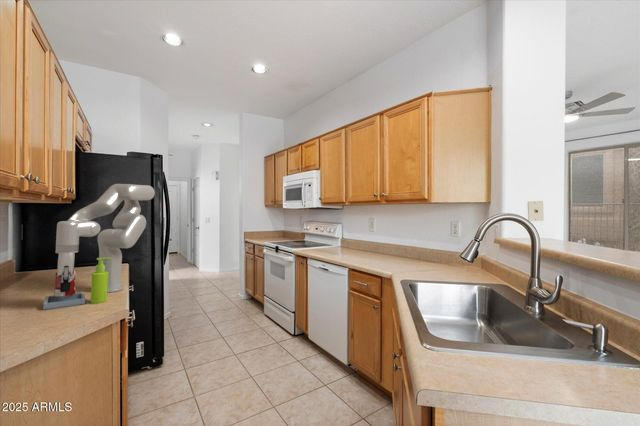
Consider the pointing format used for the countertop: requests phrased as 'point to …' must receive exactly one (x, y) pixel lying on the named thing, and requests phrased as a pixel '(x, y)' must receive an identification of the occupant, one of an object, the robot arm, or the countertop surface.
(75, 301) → the slate tray
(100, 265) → the soap dispenser
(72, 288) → the soda can
